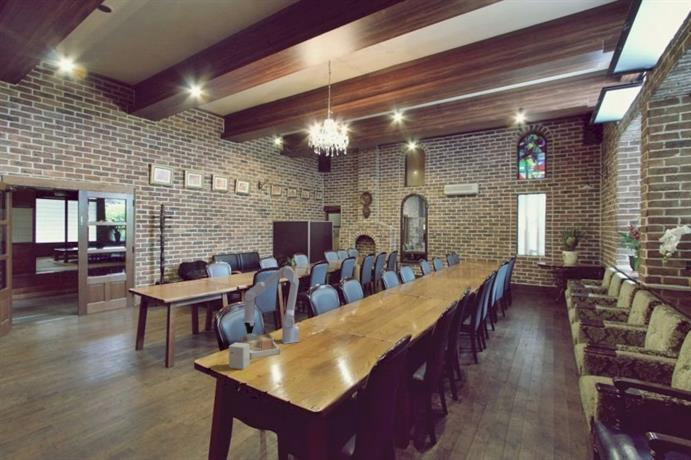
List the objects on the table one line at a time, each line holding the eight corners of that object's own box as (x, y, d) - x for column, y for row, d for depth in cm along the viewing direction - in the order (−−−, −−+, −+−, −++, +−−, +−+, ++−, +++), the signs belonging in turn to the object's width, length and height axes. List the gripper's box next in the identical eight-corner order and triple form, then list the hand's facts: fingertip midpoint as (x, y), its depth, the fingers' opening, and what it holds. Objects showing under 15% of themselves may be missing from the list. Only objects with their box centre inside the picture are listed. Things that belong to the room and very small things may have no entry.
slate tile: (254, 337, 190) (254, 332, 190) (256, 339, 186) (256, 335, 186) (245, 338, 188) (245, 334, 188) (247, 341, 183) (247, 336, 183)
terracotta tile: (270, 338, 183) (271, 340, 181) (270, 348, 183) (271, 349, 181) (261, 340, 181) (262, 341, 179) (261, 349, 181) (261, 350, 179)
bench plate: (268, 340, 197) (268, 333, 197) (274, 346, 187) (274, 339, 187) (240, 344, 190) (240, 337, 190) (244, 351, 179) (244, 343, 179)
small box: (249, 365, 161) (250, 343, 161) (243, 369, 156) (243, 347, 156) (235, 363, 164) (235, 341, 164) (228, 367, 158) (228, 345, 158)
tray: (273, 346, 186) (273, 341, 186) (279, 354, 176) (279, 348, 176) (245, 351, 179) (245, 345, 179) (249, 359, 168) (249, 353, 168)
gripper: (240, 309, 195) (240, 332, 196) (244, 315, 183) (244, 340, 183) (252, 308, 199) (252, 330, 199) (257, 313, 186) (257, 338, 186)
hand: (249, 335), depth 191 cm, fingers closed
